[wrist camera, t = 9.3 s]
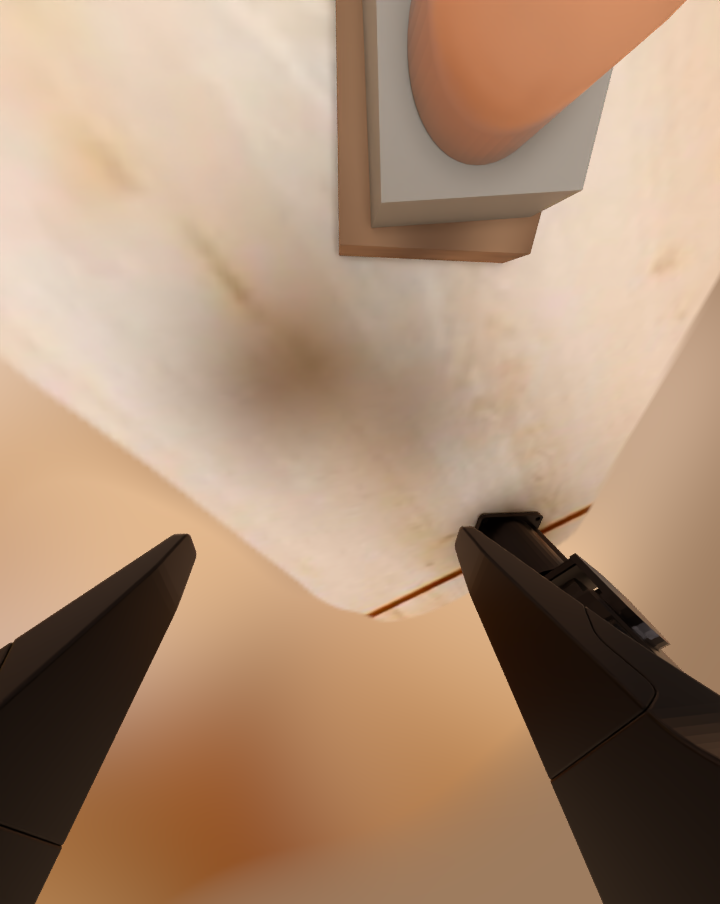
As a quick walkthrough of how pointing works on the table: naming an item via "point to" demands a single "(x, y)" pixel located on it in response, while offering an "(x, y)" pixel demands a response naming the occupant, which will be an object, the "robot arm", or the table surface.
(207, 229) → the table surface
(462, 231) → the base slab
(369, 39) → the top slab
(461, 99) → the cylinder
